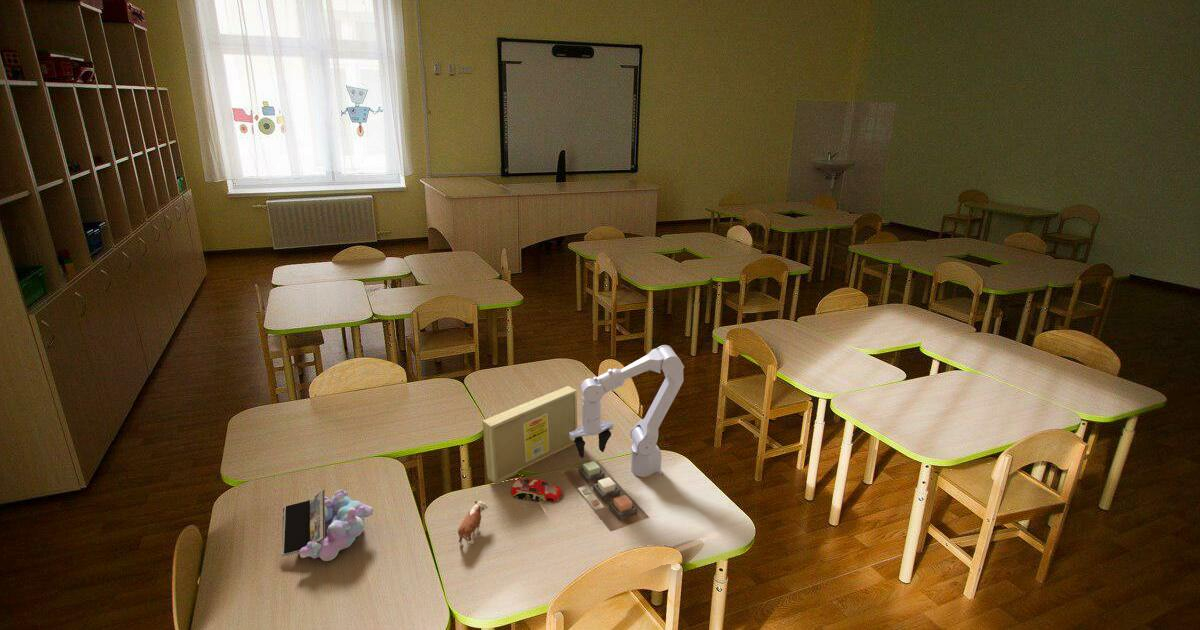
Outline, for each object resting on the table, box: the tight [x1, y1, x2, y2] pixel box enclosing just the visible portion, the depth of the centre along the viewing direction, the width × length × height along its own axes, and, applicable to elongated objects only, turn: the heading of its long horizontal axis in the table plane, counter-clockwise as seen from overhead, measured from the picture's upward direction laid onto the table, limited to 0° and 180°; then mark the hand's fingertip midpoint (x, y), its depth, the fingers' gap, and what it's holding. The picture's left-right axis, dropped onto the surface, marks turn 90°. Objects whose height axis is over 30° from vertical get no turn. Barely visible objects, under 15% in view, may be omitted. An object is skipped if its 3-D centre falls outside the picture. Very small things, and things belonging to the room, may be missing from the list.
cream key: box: [598, 477, 615, 494], centre depth 196 cm, size 4×4×2 cm
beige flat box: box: [482, 385, 578, 485], centre depth 210 cm, size 35×5×22 cm, turn 132°
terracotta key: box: [614, 495, 632, 513], centre depth 188 cm, size 4×4×2 cm
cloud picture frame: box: [280, 487, 374, 562], centre depth 174 cm, size 20×22×18 cm
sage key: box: [582, 460, 600, 477], centre depth 204 cm, size 4×4×2 cm
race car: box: [510, 478, 564, 503], centre depth 196 cm, size 16×7×5 cm, turn 75°
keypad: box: [562, 461, 650, 532], centre depth 196 cm, size 13×32×3 cm, turn 28°
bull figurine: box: [457, 500, 489, 547], centre depth 179 cm, size 4×13×8 cm, turn 161°
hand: (591, 453), depth 202 cm, fingers open, 7 cm apart
